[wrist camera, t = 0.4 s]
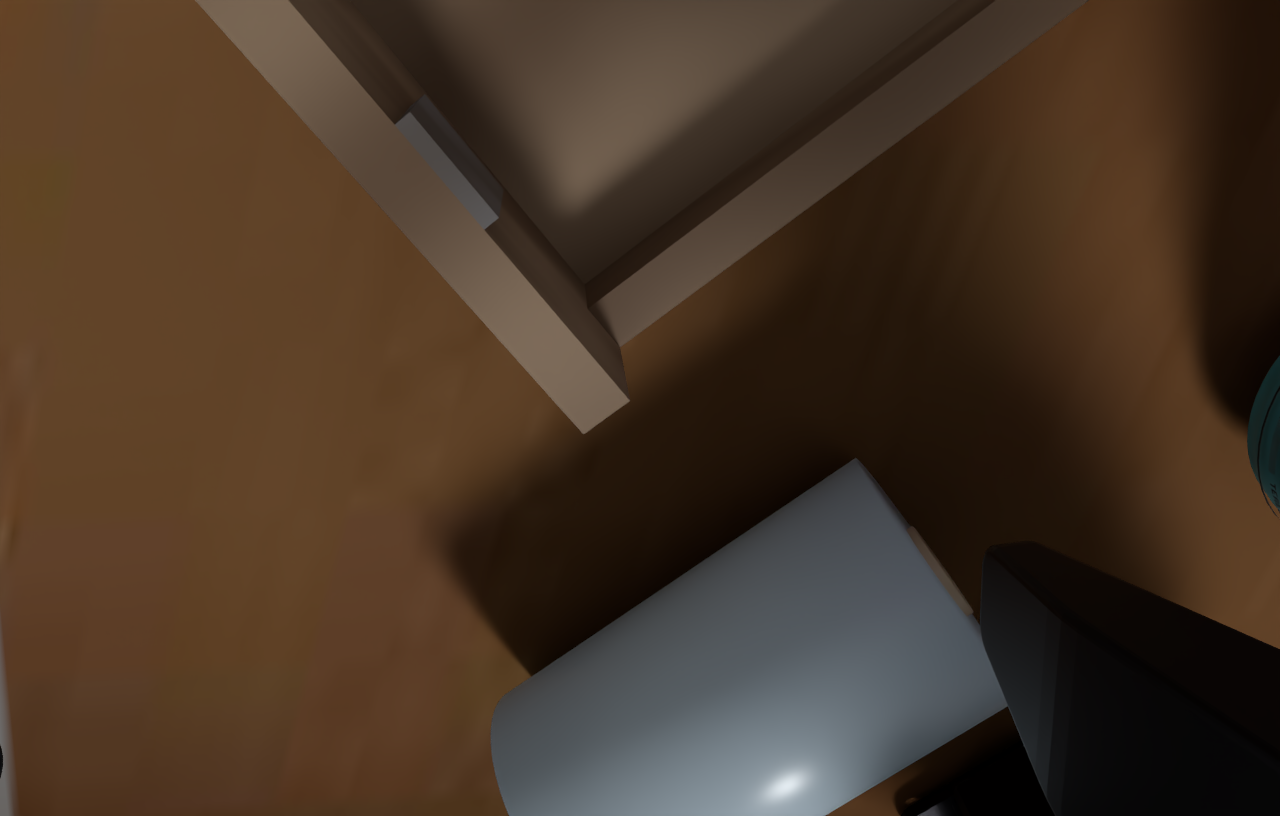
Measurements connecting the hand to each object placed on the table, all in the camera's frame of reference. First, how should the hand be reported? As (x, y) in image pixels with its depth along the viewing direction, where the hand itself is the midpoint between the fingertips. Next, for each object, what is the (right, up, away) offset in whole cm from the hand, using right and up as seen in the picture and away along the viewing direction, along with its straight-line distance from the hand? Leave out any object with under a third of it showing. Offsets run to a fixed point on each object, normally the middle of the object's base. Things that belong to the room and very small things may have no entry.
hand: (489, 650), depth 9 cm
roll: (+3, -3, +16) cm, 17 cm away
